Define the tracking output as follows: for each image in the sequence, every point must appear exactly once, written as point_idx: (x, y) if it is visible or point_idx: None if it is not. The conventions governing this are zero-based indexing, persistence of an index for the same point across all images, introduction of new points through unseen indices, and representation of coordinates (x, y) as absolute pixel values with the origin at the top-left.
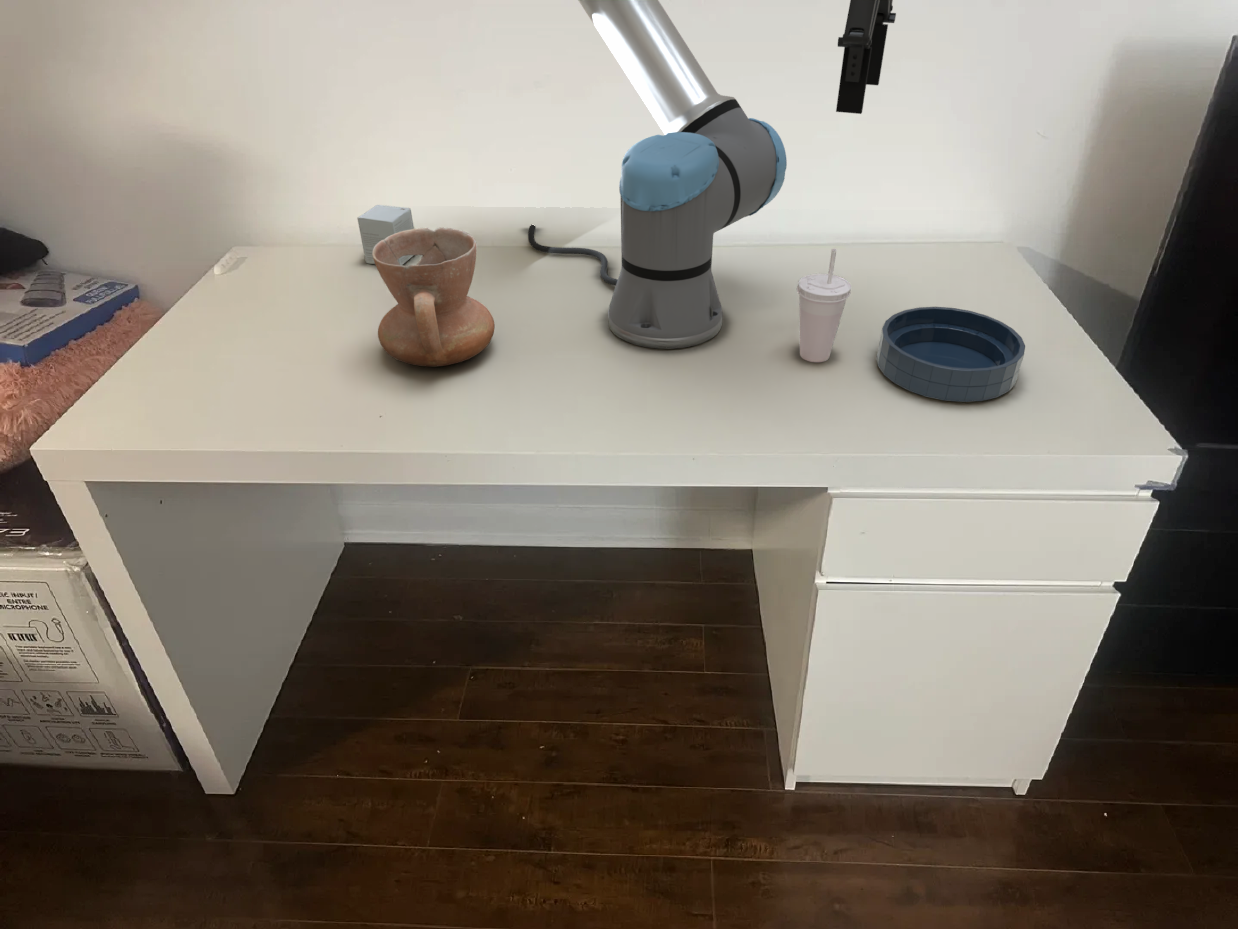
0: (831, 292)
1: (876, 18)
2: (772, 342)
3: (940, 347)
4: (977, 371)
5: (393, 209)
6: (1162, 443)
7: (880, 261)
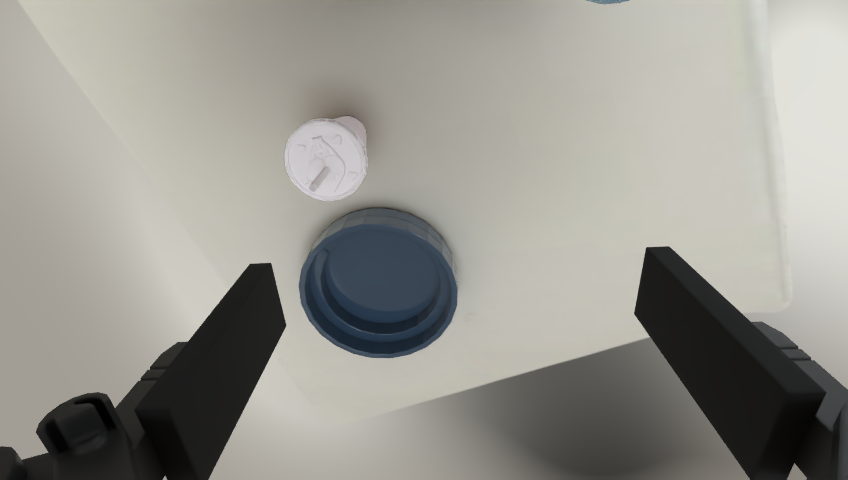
0: (303, 178)
1: (825, 459)
2: (356, 71)
3: (425, 267)
4: (312, 323)
5: None
6: (339, 423)
7: (687, 157)
